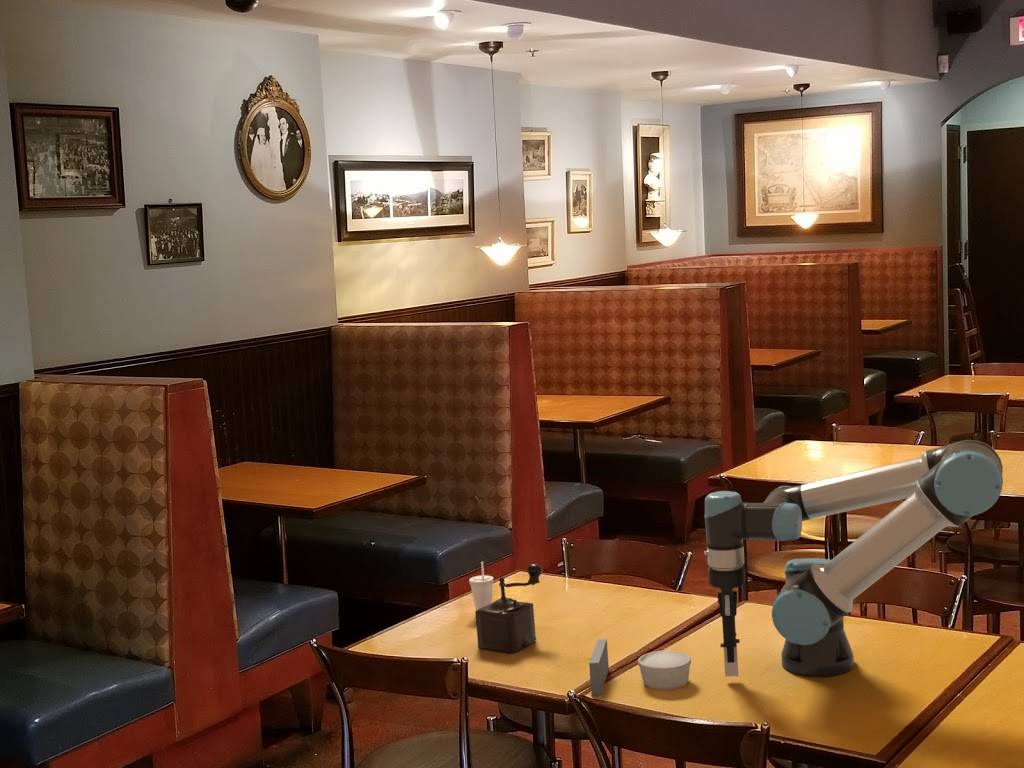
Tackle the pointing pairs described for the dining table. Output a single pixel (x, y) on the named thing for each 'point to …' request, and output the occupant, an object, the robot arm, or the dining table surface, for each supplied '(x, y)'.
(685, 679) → the ramekin
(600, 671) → the board
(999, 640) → the dining table surface
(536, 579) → the coffee grinder
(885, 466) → the robot arm
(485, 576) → the smoothie
